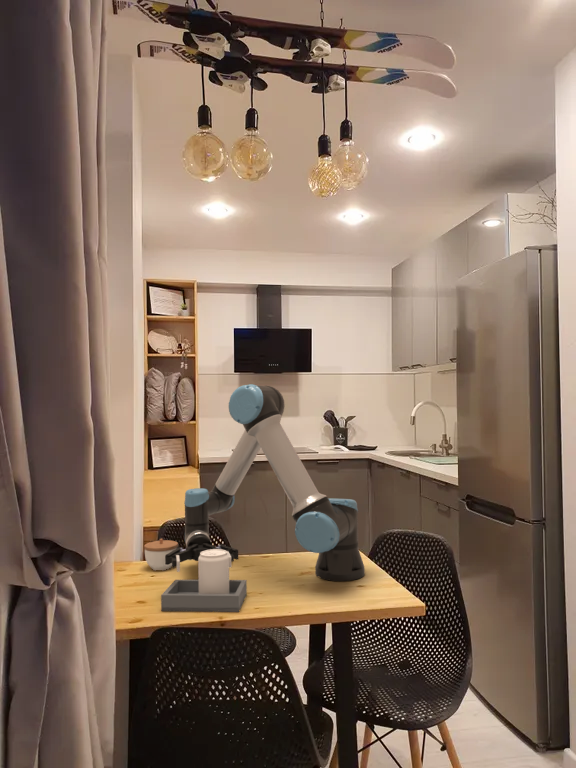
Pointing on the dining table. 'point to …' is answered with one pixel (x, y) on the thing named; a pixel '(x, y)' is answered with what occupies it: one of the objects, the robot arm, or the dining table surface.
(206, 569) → the beverage can
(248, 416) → the robot arm
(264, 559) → the dining table surface
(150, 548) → the lidded jar
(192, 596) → the parts tray
